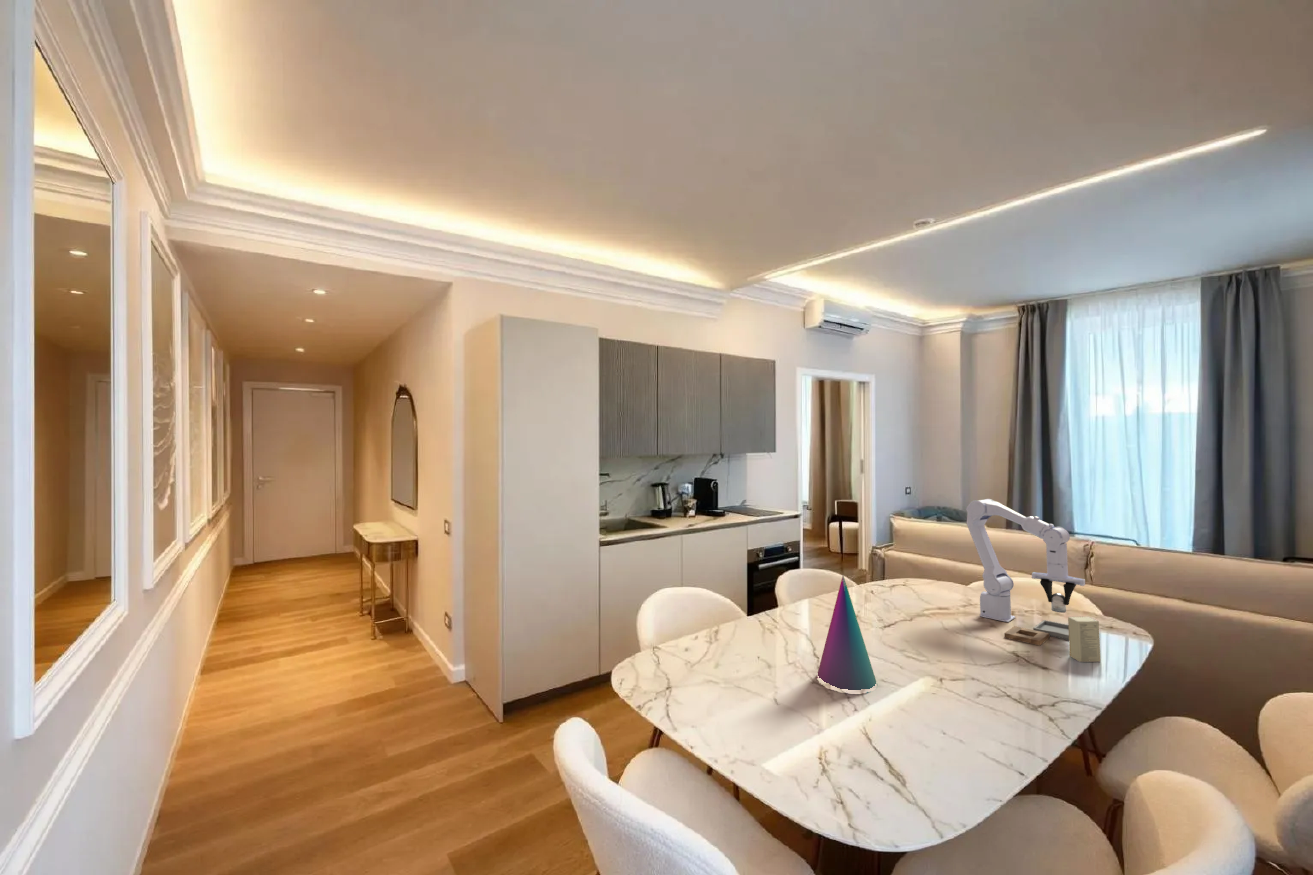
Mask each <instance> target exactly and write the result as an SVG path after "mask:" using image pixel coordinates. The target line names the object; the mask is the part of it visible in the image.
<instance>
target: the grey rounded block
mask: <svg viewBox="0 0 1313 875" xmlns="http://www.w3.org/2000/svg"><path fill="white" fill-rule="evenodd" d="M1050 604H1051V607H1050V609H1051V611H1052V612H1056V613H1063V614H1064V613H1067V605H1065V594H1062V593H1060V592H1054V593H1052V596H1051V602H1050Z"/></svg>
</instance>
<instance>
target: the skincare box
mask: <svg viewBox="0 0 1313 875" xmlns="http://www.w3.org/2000/svg"><path fill="white" fill-rule="evenodd" d="M1067 622H1068V623H1067V625H1068V628H1069V640H1068V644H1069V645H1068V646H1069V647H1068V648H1069V657H1070V658H1072V659H1074V660H1076V661H1077V662H1079V663H1080V662H1082V663H1084V662H1085V663H1089V662H1090V663H1092V662H1093V663H1094V662H1095V663H1097V662H1101V642H1100V640H1101V639H1100V622H1099V620H1096V619H1095V618H1092V617H1090V616H1068V617H1067Z"/></svg>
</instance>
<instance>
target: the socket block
mask: <svg viewBox="0 0 1313 875" xmlns="http://www.w3.org/2000/svg"><path fill="white" fill-rule="evenodd" d="M1003 634H1004V638H1005V637H1006V638H1005V639H1009V638H1010V639H1009V640H1014V641H1018V642H1023V643H1026V642H1027V644H1031V645H1035V646H1036V645H1037V646H1042V645H1043V644H1045V642H1047V641H1048V640H1049V639H1050V636H1049V633H1045V632H1040V631H1036V630H1033V629H1030V628H1025V627H1021V626H1016V625H1014V626H1012V627H1011V628H1009V629H1008V630H1007V631H1005V632H1004V633H1003Z"/></svg>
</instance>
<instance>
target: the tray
mask: <svg viewBox="0 0 1313 875" xmlns="http://www.w3.org/2000/svg"><path fill="white" fill-rule="evenodd" d="M1032 630H1036V631H1040V632H1045V633H1049V637H1051V638H1057V639H1060V640H1066V641H1069V628H1068V623H1067V624H1066V623H1061V622H1057V621H1051V620H1045V619H1044V620H1042V621H1041V622H1039V623H1038V624H1037V625H1035V626H1034V627H1033V628H1032Z"/></svg>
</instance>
